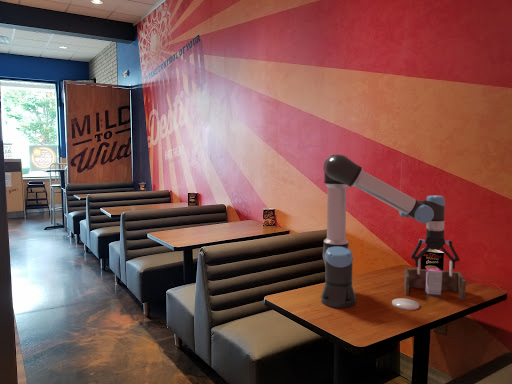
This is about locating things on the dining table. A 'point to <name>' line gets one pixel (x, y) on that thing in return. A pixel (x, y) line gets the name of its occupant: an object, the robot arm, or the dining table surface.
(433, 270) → the supplement box
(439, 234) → the robot arm
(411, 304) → the pebble
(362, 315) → the dining table surface
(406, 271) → the cubby
